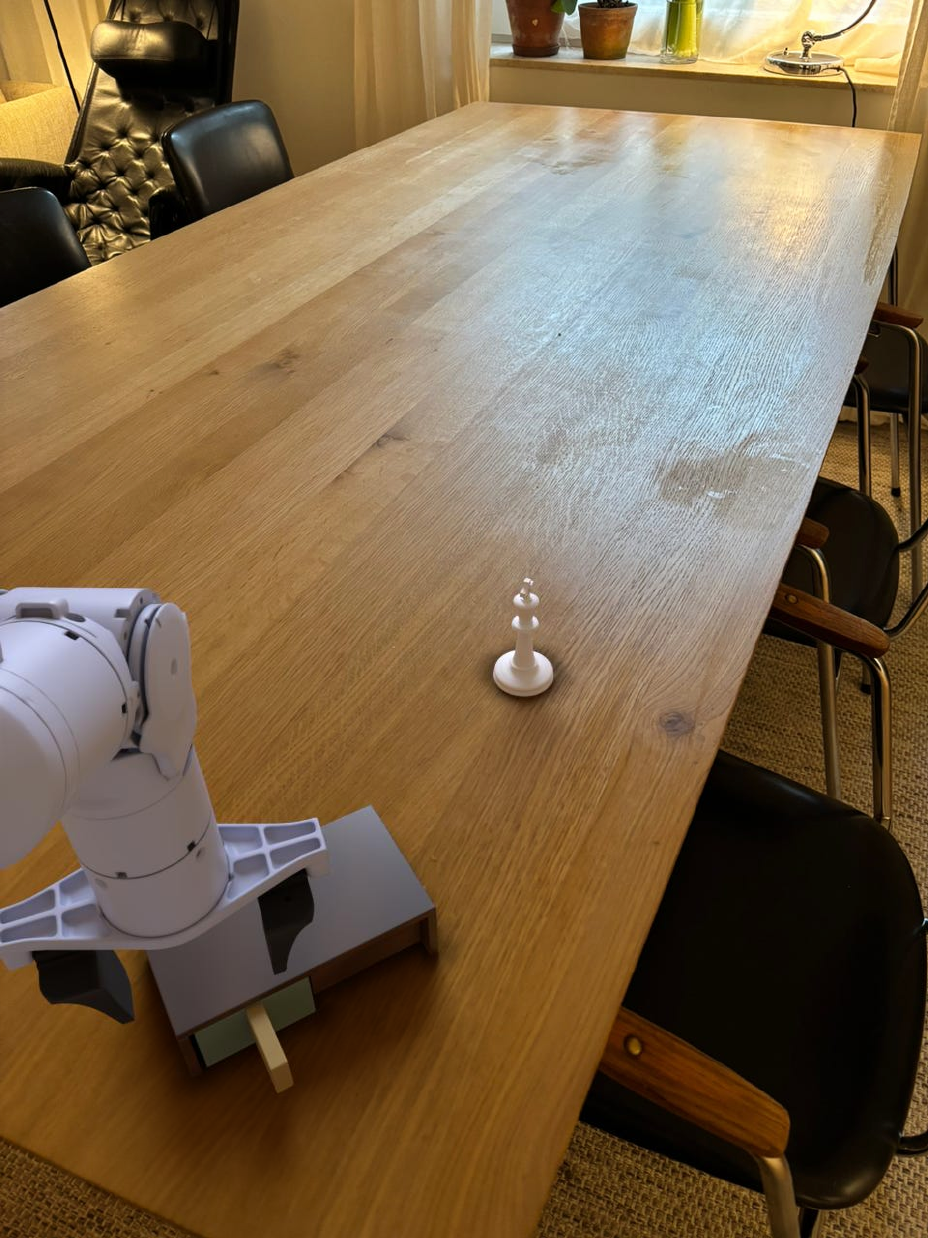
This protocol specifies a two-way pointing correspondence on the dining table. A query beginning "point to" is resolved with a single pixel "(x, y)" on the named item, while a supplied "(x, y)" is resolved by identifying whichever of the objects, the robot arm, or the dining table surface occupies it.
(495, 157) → the dining table surface
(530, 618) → the chess piece
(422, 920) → the cabinet
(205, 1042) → the sliding door
